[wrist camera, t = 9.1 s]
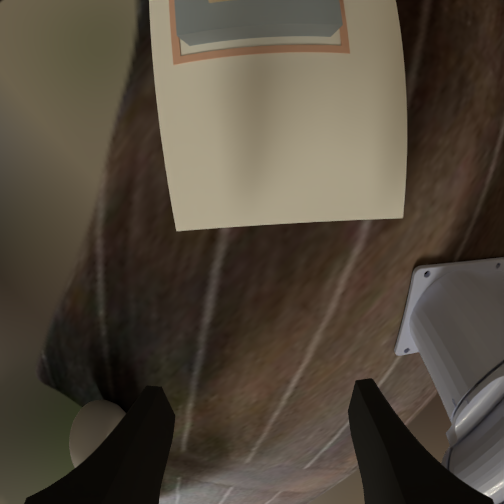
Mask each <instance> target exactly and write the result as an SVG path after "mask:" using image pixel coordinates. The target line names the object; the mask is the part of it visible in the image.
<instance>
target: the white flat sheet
mask: <svg viewBox="0 0 504 504" xmlns="http://www.w3.org/2000/svg"><path fill="white" fill-rule="evenodd" d="M339 2H340V9H341V16H342V23H343V25H342V26H341V27H340V28H339V29H338V30H337V31H336V32H335V33H334V34H333V35H332V36H331V37H319V36H285V37H262V38H249V39H238V40H228V41H220V42H213V43H206V44H199V45H193V46H189V45H188V44H186V43H185V42H184V41H183V40H181V39H180V38H179V37H178V36H177V33H176V18H175V2H174V0H149V8H150V28H151V43H152V56H153V68H154V79H155V89H156V99H157V107H158V116H159V124H160V132H161V139H162V146H163V153H164V160H165V167H166V173H167V180H168V186H169V192H170V198H171V204H172V209H173V215H174V220H175V226H176V231H185V230H197V229H211V228H224V227H239V226H253V225H269V224H286V223H303V222H322V221H343V220H365V219H391V218H403V210H404V199H405V185H406V165H407V99H406V80H405V67H404V56H403V47H402V38H401V31H400V24H399V17H398V11H397V5H396V0H339Z"/></svg>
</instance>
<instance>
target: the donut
mask: <svg viewBox="0 0 504 504" xmlns="http://www.w3.org/2000/svg"><path fill="white" fill-rule="evenodd" d="M125 414H126V413H125V412H124V411H123V409H122V408H121V407H120V406H118V405H117V404H115V403H113V402H110V401H107V400H96V401H91V402H89V403H88V404H87V405H85V406H84V407H83V408H81V410H80V411H79V413H78V414H77V416H76V418H75V419H74V421H73V425H72V428H71V431H70V444H69V448H70V453H71V459H72V462H73V464H74V467H75V468H76V467H77V466H78V465H79V464H81V463H82V462H83V461H84V460H85V459H86V458H87V457H88V456H89V455H91V454H92V453H93V452H94V451H95V450H96V449H97V448H98V446H99V445H100V444H101V443H102V442H103V441H104V440H105V439H106V438H107V436H108V435H109V434H110V433H111V432H112V431H113V430H114V428H115V427H116V426H117V425H118V423H119V422H120V421H121V419H122V418H123V417H124V416H125Z"/></svg>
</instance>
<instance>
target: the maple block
mask: <svg viewBox="0 0 504 504" xmlns="http://www.w3.org/2000/svg"><path fill="white" fill-rule="evenodd" d="M208 1H209V3H215V2H222V1H230V0H208Z"/></svg>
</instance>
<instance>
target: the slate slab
mask: <svg viewBox="0 0 504 504" xmlns="http://www.w3.org/2000/svg"><path fill="white" fill-rule="evenodd" d="M174 2H175V18H176V33H177V36H178V37H179V38H180V39H181V40H183V41H184V42H185V43H186V44H188V45H189V46H193V45H199V44H206V43H213V42H220V41H228V40H238V39H249V38H262V37H285V36H319V37H331V36H332V35H333V34H334V33H335V32H336V31H337V30H338V29H339V28H340V27H341V26H342V25H343V23H342V16H341V9H340V2H339V0H230V1H222V2H215V3H209V1H208V0H174Z"/></svg>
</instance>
